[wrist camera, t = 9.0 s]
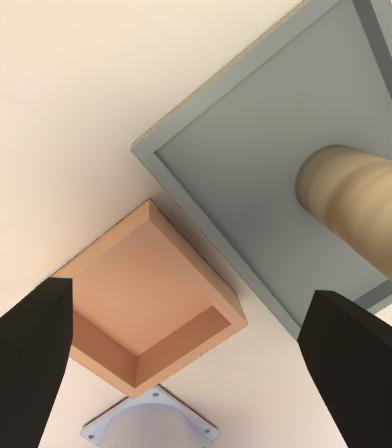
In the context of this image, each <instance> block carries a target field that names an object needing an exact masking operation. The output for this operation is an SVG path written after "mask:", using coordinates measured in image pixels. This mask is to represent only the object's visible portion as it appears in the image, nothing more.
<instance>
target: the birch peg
mask: <svg viewBox="0 0 392 448" xmlns="http://www.w3.org/2000/svg"><path fill="white" fill-rule="evenodd" d="M295 194H296V197H297V200H298V202H299V203H300V205H301V206H302V207H303V208H304V209H305V210H307V211H308V212H309V213H310V214H311V215H313V216H314V217H315V218H316V219H317V220H319V221H320V222H321V223H322V224H323V225H325V226H326V227H327V228H328V229H329V230H331V231H332V232H333V233H334V234H335V235H337V236H338V237H339V238H340V239H341V240H342V241H344V242H345V243H346V244H347V245H348V246H350V247H351V248H352V249H353V250H354V251H356V252H357V253H358V254H359V255H360V256H362V257H363V258H364V259H365V260H366V261H368V262H369V263H370V264H371V265H372V266H374V267H375V268H376V269H377V270H378V271H380V272H381V273H382V274H383V275H384V276H386V277H387V278H388V279H389V280H390V281H392V161H390V160H387V159H384V158H381V157H378V156H375V155H372V154H369V153H366V152H363V151H360V150H357V149H354V148H351V147H348V146H345V145H329V146H326V147H323V148H321V149H319V150H317V151H316V152H314V153H313V154H312V155H311V156H309V157H308V158H307V160H306V161H305V162H304V163H303V165H302V166H301V168H300V170H299V172H298V174H297V177H296V182H295Z"/></svg>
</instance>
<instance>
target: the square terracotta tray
mask: <svg viewBox="0 0 392 448" xmlns="http://www.w3.org/2000/svg"><path fill="white" fill-rule="evenodd" d="M50 277H57V278H73V340H72V344H71V348H70V353H69V357H71V358H72V359H74V360H75V361H77V362H78V363H79V364H81V365H82V366H84V367H85V368H87V369H88V370H90V371H91V372H93V373H94V374H96V375H97V376H99V377H100V378H102V379H103V380H105V381H106V382H108V383H109V384H111V385H112V386H114V387H115V388H117V389H118V390H120V391H121V392H123V393H124V394H126V395H127V396H128V397H130V398H131V399H133V400H135V399H136V398H138V397H139V396H141V395H142V394H144V393H145V392H147V391H148V390H150V389H151V388H153V387H154V386H156V385H157V384H159V383H160V382H162V381H163V380H165V379H166V378H168V377H170V376H171V375H173V374H174V373H176V372H177V371H179V370H180V369H182V368H183V367H185V366H186V365H188V364H189V363H191V362H192V361H194V360H195V359H197V358H198V357H200V356H201V355H203V354H204V353H206V352H207V351H209V350H210V349H212V348H214V347H215V346H217V345H218V344H220V343H221V342H223V341H224V340H226V339H227V338H229V337H230V336H232V335H233V334H235V333H236V332H238V331H239V330H241V329H242V328H244V327H245V326H247V325H248V321H247V319H246V317H245V314H244V312H243V309H242V307H241V304H240V302H239V299H238V297H237V294H236V293H235V292H234V291H233V290H232V289H231V288H230V287H229V286H228V285H227V284H226V282H225V281H224V280H223V279H222V278H221V277H220V276H219V275H218V274H217V273H216V271H215V270H214V269H213V268H212V267H211V266H210V265H209V264H208V263H207V262H206V260H205V259H204V258H203V257H202V256H201V255H200V254H199V253H198V252H197V251H196V249H195V248H194V247H193V246H192V245H191V244H190V243H189V242H188V241H187V240H186V239H185V237H184V236H183V235H182V234H181V233H180V232H179V231H178V230H177V229H176V228H175V226H174V225H173V224H172V223H171V222H170V221H169V220H168V219H167V218H166V217H165V215H164V214H163V213H162V212H161V211H160V210H159V209H158V208H157V207H156V206H155V204H154V203H153V202H152V201H151V200H150V199H148V200H146V201H145V202H144V203H143V204H141V205H140V206H139V207H138V208H136V209H135V210H134V211H133V212H131V213H130V214H129V215H127V216H126V217H125V218H124V219H122V220H121V221H120V222H119V223H117V224H116V225H115V226H113V227H112V228H111V229H110V230H108V231H107V232H106V233H105V234H103V235H102V236H101V237H100V238H98V239H97V240H96V241H94V242H93V243H92V244H91V245H89V246H88V247H87V248H86V249H84V250H83V251H82V252H80V253H79V254H78V255H77V256H75V257H74V258H73V259H72V260H70V261H69V262H68V263H67V264H65V265H64V266H63V267H61V268H60V269H59V270H58V271H56V272H55V273H54V274H53V275H51V276H50Z"/></svg>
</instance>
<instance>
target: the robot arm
mask: <svg viewBox="0 0 392 448" xmlns="http://www.w3.org/2000/svg"><path fill="white" fill-rule="evenodd" d="M72 340H73V278H57V277H48V278H47V279H46V280H44V281H43V282H42V283H41V284H40V285H38V286H37V287H36V288H35V289H34V290H33V291H31V292H30V293H29V294H28V295H27V296H26V297H24V298H23V299H22V300H21V301H20V302H19V303H17V304H16V305H15V306H14V307H13V308H12V309H10V310H9V311H8V312H7V313H5V314H4V315H3V316H2V317H1V318H0V448H38V446H39V443H40V440H41V438H42V435H43V432H44V429H45V426H46V424H47V421H48V418H49V415H50V413H51V410H52V407H53V404H54V401H55V399H56V396H57V393H58V390H59V387H60V385H61V382H62V379H63V376H64V373H65V369H66V365H67V361H68V357H69V353H70V348H71V344H72ZM297 341H298V344H299V347H300V350H301V353H302V356H303V358H304V361H305V363H306V366H307V369H308V371H309V373H310V375H311V377H312V379H313V381H314V383H315V385H316V387H317V389H318V391H319V393H320V395H321V397H322V399H323V401H324V403H325V404H326V406H327V408H328V410H329V412H330V414H331V416H332V418H333V420H334V422H335V423H336V425H337V427H338V429H339V431H340V433H341V435H342V437H343V439H344V441H345V443H346V444H347V446H348V448H392V326H390V325H389V324H387V323H386V322H384V321H383V320H381V319H379V318H378V317H376V316H375V315H373V314H372V313H370V312H369V311H367V310H365V309H364V308H362V307H361V306H359V305H357V304H356V303H354V302H353V301H351V300H349V299H348V298H346V297H344V296H342V295H341V294H339V293H337V292H335V291H331V290H315V292H314V295H313V297H312V300H311V303H310V306H309V308H308V311H307V314H306V316H305V319H304V322H303V325H302V327H301V330H300V333H299V335H298V338H297ZM218 435H219V433H218V430H217V429H216V428H215V427H213V426H212V425H211V424H209V423H208V422H206V421H205V420H204V419H202V418H201V417H200V416H198V415H197V414H196V413H194V412H193V411H191V410H190V409H189V408H187V407H186V406H185V405H183V404H182V403H181V402H179V401H178V400H177V399H175V398H174V397H172V396H171V395H170V394H168V393H167V392H166V391H164V390H163V389H162V388H160V387H159V386H158V385H156V386H154V387H153V388H151V389H150V390H148V391H147V392H145V393H144V394H142V395H141V396H139V397H138V398H136V399H135V400H133V399H131V398H130V397H129V398H127V399H126V400H124V401H123V402H121V403H120V404H118V405H117V406H115V407H114V408H112V409H111V410H109V411H108V412H106V413H105V414H103V415H102V416H100V417H99V418H97V419H96V420H94V421H93V422H91V423H90V424H88V425H87V426H85V427H84V428H82V430H81V436H82V437H84V438H86V439H87V440H89V441H91V442H93V443H95V444H96V445H98V446H100V447H102V448H212V443H211V441H212V440H214V439H215V438H217V437H218Z"/></svg>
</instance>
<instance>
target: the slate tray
mask: <svg viewBox="0 0 392 448" xmlns="http://www.w3.org/2000/svg"><path fill="white" fill-rule="evenodd" d="M329 145H345V146H348V147H351V148H354V149H357V150H360V151H363V152H366V153H369V154H372V155H375V156H378V157H381V158H384V159H387V160H390V161H392V3H391V1H390V0H304V1H303V2H301V3H300V4H299V5H298V6H297V7H295V8H294V9H293V10H292V11H291V12H289V13H288V14H287V15H286V16H285V17H283V18H282V19H281V20H280V21H279V22H277V23H276V24H275V25H274V26H273V27H271V28H270V29H269V30H268V31H267V32H265V33H264V34H263V35H262V36H261V37H259V38H258V39H257V40H256V41H255V42H253V43H252V44H251V45H250V46H249V47H247V48H246V49H245V50H244V51H243V52H241V53H240V54H239V55H238V56H237V57H235V58H234V59H233V60H232V61H231V62H229V63H228V64H227V65H226V66H225V67H223V68H222V69H221V70H220V71H219V72H217V73H216V74H215V75H214V76H213V77H211V78H210V79H209V80H208V81H207V82H205V83H204V84H203V85H202V86H201V87H199V88H198V89H197V90H196V91H195V92H194V93H192V94H191V95H190V96H189V97H188V98H186V99H185V100H184V101H183V102H182V103H180V104H179V105H178V106H177V107H176V108H174V109H173V110H172V111H171V112H170V113H168V114H167V115H166V116H165V117H164V118H162V119H161V120H160V121H159V122H158V123H156V124H155V125H154V126H153V127H152V128H150V129H149V130H148V131H147V132H146V133H144V134H143V135H142V136H141V137H140V138H138V139H137V140H136V141H135V142H134V143H132V147H131V151H132V152H133V153H134V155H135V156H136V157H137V158H138V159H139V160H140V162H141V163H142V164H143V165H144V166H145V167H146V168H147V170H148V171H149V172H150V173H151V174H152V175H153V176H154V178H155V179H156V180H157V181H158V182H159V183H160V185H161V186H162V187H163V188H164V189H165V190H166V191H167V193H168V194H169V195H170V196H171V197H172V198H173V200H174V201H175V202H176V203H177V204H178V205H179V206H180V208H181V209H182V210H183V211H184V212H185V213H186V214H187V216H188V217H189V218H190V219H191V220H192V221H193V223H194V224H195V225H196V226H197V227H198V228H199V229H200V231H201V232H202V233H203V234H204V235H205V236H206V238H207V239H208V240H209V241H210V242H211V243H212V244H213V246H214V247H215V248H216V249H217V250H218V251H219V253H220V254H221V255H222V256H223V257H224V258H225V259H226V261H227V262H228V263H229V264H230V265H231V266H232V267H233V269H234V270H235V271H236V272H237V273H238V274H239V276H240V277H241V278H242V279H243V280H244V281H245V282H246V284H247V285H248V286H249V287H250V288H251V289H252V291H253V292H254V293H255V294H256V295H257V296H258V297H259V299H260V300H261V301H262V302H263V303H264V304H265V305H266V307H267V308H268V309H269V310H270V311H271V312H272V314H273V315H274V316H275V317H276V318H277V319H278V320H279V322H280V323H281V324H282V325H283V326H284V327H285V329H286V330H287V331H288V332H289V333H290V334H291V335H292V337H293V338H294V339H295V340H296V341H297V338H298V335H299V333H300V330H301V327H302V325H303V322H304V319H305V316H306V314H307V311H308V308H309V306H310V303H311V300H312V297H313V295H314V292H315V290H331V291H335V292H337V293H339V294H341V295H342V296H344V297H346V298H348V299H349V300H351V301H353V302H354V303H356V304H357V305H359V306H361V307H362V308H364V309H365V310H367V311H369V312H370V313H372V314H373V315H374V314H375V313H377V312H379V311H380V310H382V309H383V308H385V307H387V306H388V305H390V304H392V281H390V280H389V279H388V278H387V277H386V276H384V275H383V274H382V273H381V272H380V271H378V270H377V269H376V268H375V267H374V266H372V265H371V264H370V263H369V262H368V261H366V260H365V259H364V258H363V257H362V256H360V255H359V254H358V253H357V252H356V251H354V250H353V249H352V248H351V247H350V246H348V245H347V244H346V243H345V242H344V241H342V240H341V239H340V238H339V237H338V236H337V235H335V234H334V233H333V232H332V231H331V230H329V229H328V228H327V227H326V226H325V225H323V224H322V223H321V222H320V221H319V220H317V219H316V218H315V217H314V216H313V215H311V214H310V213H309V212H308V211H307V210H305V209H304V208H303V207H302V206H301V205H300V203H299V202H298V200H297V197H296V194H295V182H296V177H297V174H298V172H299V170H300V168H301V166H302V165H303V163H304V162H305V161H306V160H307V158H308V157H309V156H311V155H312V154H313V153H314V152H316V151H317V150H319V149H321V148H323V147H326V146H329ZM297 342H298V341H297Z"/></svg>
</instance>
